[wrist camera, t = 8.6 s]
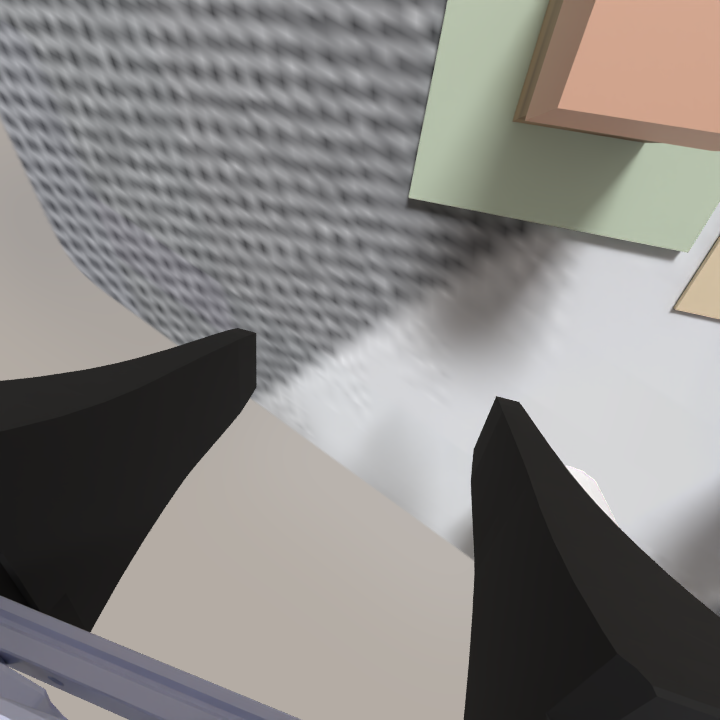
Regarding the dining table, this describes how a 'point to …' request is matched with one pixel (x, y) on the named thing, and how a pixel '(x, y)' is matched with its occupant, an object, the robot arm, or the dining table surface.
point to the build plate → (545, 145)
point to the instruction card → (704, 288)
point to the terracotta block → (634, 71)
